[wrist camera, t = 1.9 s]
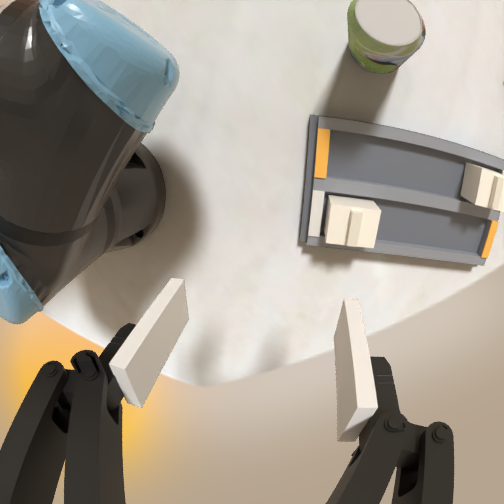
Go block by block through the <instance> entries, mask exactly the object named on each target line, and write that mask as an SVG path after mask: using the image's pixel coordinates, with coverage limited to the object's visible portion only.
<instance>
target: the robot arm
mask: <svg viewBox="0 0 504 504" xmlns="http://www.w3.org/2000/svg"><path fill="white" fill-rule="evenodd" d="M178 80H179V67H178V64H177V62H176V60H175V58H174V57H173V56H172V54H171V53H170V52H169V51H168V50H167V49H166V48H165V47H163V46H162V45H161V44H160V43H159V42H158V41H157V40H155V39H154V38H153V37H152V36H150V35H149V34H148V33H147V32H145V31H144V30H143V29H141V28H140V27H139V26H137V25H136V24H135V23H133V22H132V21H131V20H129V19H128V18H126V17H125V16H123V15H122V14H120V13H119V12H117V11H116V10H114V9H113V8H111V7H109V6H108V5H106V4H105V3H103V2H101V1H99V0H9V1H8V2H6V3H5V4H3V5H2V6H0V316H1V317H2V318H3V319H5V320H7V321H8V322H10V323H13V324H21V323H24V322H25V321H27V320H28V319H29V318H30V317H31V316H32V315H34V314H35V313H36V312H38V311H39V312H40V311H42V310H43V306H44V305H45V304H46V303H47V302H48V301H49V300H51V299H52V298H53V297H54V296H55V295H56V294H57V293H58V292H59V291H60V290H61V289H63V288H64V287H65V286H66V285H67V284H68V283H69V282H70V281H72V280H73V279H74V278H75V277H76V276H77V275H78V274H80V273H81V272H82V271H83V270H84V269H85V268H87V267H88V266H89V265H90V264H91V263H93V262H94V261H95V260H96V259H97V258H98V257H100V256H101V255H102V254H104V253H107V252H111V251H115V250H119V249H124V248H128V247H131V246H133V245H135V244H137V243H139V242H141V241H142V240H143V239H144V238H145V237H147V236H148V235H149V234H150V233H151V232H152V231H153V230H154V229H155V228H156V226H157V225H158V223H159V221H160V219H161V217H162V214H163V211H164V206H165V184H164V179H163V175H162V172H161V170H160V167H159V165H158V163H157V161H156V159H155V158H154V156H153V155H152V154H151V152H150V151H149V150H148V149H147V148H146V147H145V146H144V145H143V144H142V143H141V141H142V140H143V138H144V137H145V135H146V134H147V133H150V132H151V130H152V129H153V127H154V125H155V120H156V118H157V116H158V115H159V113H160V111H161V110H162V108H163V106H164V105H165V103H166V102H167V100H168V99H169V97H170V96H171V94H172V93H173V91H174V90H175V88H176V86H177V84H178ZM188 320H189V315H188V307H187V299H186V290H185V281H184V279H177V278H171V279H170V280H169V282H168V283H167V284H166V286H165V287H164V288H163V290H162V291H161V292H160V294H159V295H158V296H157V298H156V299H155V300H154V302H153V303H152V304H151V306H150V307H149V308H148V310H147V311H146V312H145V314H144V315H143V317H142V318H141V319H140V321H139V322H138V323H137V325H135V324H131V323H128V324H126V325H125V326H123V327H122V328H120V330H119V331H118V332H117V333H116V335H115V337H113V339H112V340H111V343H109V344H108V345H107V347H106V348H105V349H104V351H103V352H102V354H101V355H100V356H99V357H98V356H97V354H96V353H95V352H93V351H91V350H83V351H80V352H78V353H76V354H75V355H74V356H73V357H72V359H71V361H70V362H71V364H72V366H73V367H74V369H75V370H67V369H64V367H63V365H62V364H61V363H60V362H58V361H50V362H47V363H46V364H44V365H43V366H42V368H41V369H40V371H39V373H38V374H37V376H36V378H35V380H34V381H33V383H32V385H31V387H30V389H29V391H28V392H27V395H26V396H25V398H24V400H23V402H22V404H21V406H20V408H19V410H18V412H17V414H16V416H15V418H14V420H13V422H12V425H11V427H10V429H9V431H8V433H7V436H6V438H5V441H4V443H3V445H2V448H1V450H0V504H52V502H53V498H54V495H55V491H56V488H57V484H58V480H59V477H60V474H61V471H62V468H63V464H64V461H65V460H66V461H65V478H64V504H126V503H125V493H124V479H123V459H122V404H121V400H122V398H123V397H125V399H126V401H127V403H129V404H132V405H134V406H138V407H140V408H142V407H143V405H144V403H145V401H146V399H147V397H148V395H149V393H150V391H151V389H152V387H153V386H154V384H155V382H156V380H157V378H158V376H159V374H160V372H161V370H162V368H163V367H164V365H165V363H166V361H167V359H168V357H169V355H170V353H171V351H172V350H173V348H174V346H175V344H176V342H177V340H178V338H179V336H180V335H181V333H182V331H183V329H184V327H185V325H186V324H187V322H188ZM334 348H335V365H336V386H337V441H344V442H345V441H346V442H349V441H350V442H352V441H356V439H357V438H358V436H359V446H358V448H357V449H356V450H355V451H354V452H353V454H352V456H353V457H352V459H351V461H350V462H349V464H348V466H347V468H346V470H345V472H344V474H343V476H342V478H341V479H340V481H339V483H338V484H337V486H336V488H335V490H334V491H333V493H332V495H331V496H330V498H329V499H328V501H327V503H326V504H379V503H380V501H381V499H382V497H383V495H384V493H385V490H386V488H387V486H388V483H389V481H390V479H391V476H392V474H393V471H394V469H395V467H397V471H396V479H395V486H394V493H393V498H392V504H452V503H453V489H454V442H453V433H452V430H451V428H450V427H449V426H448V425H446V424H445V423H443V422H434V423H432V424H431V425H429V426H428V427H424V426H419V425H415V424H412V423H410V422H408V421H407V419H406V418H405V417H404V415H402V414H401V413H400V410H399V405H398V400H397V395H396V390H395V385H394V381H393V376H392V371H391V366H390V364H389V363H388V362H387V360H386V359H385V357H370V354H369V348H368V343H367V338H366V333H365V328H364V323H363V318H362V314H361V309H360V305H359V300H358V299H349V298H344V301H343V305H342V309H341V313H340V316H339V320H338V324H337V328H336V331H335V335H334ZM65 458H66V459H65Z"/></svg>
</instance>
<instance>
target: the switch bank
mask: <svg viewBox="0 0 504 504" xmlns="http://www.w3.org/2000/svg"><path fill="white" fill-rule="evenodd" d="M466 162H468V163H471V164H474V165H477V166H480V167H484V168H487V169H490V170H492V171H495V172H498V173H500V174H502V175H504V160H503V159H500V158H498V157H495V156H493V155H490V154H487V153H484V152H481V151H479V150H476V149H473V148H470V147H467V146H463V145H460V144H457V143H454V142H450V141H447V140H443V139H440V138H436V137H432V136H429V135H425V134H421V133H417V132H412V131H408V130H404V129H399V128H394V127H389V126H384V125H379V124H374V123H368V122H362V121H355V120H349V119H342V118H334V117H326V116H317V115H310V125H309V141H308V155H307V168H306V180H305V192H304V203H303V213H302V223H301V233H300V242H307V245H311V246H320V247H330V248H339V249H348V250H357V251H366V252H374V253H383V254H392V255H400V256H409V257H417V258H426V259H434V260H442V261H450V262H458V263H466V264H474V265H482V266H484V264H485V261H486V258H488V255H489V252H490V249H491V246H492V243H493V240H494V236H495V233H496V229H497V226H498V219H499V215H500V211H498V210H494V209H490V208H486V207H482V206H478V205H475V204H473V203H472V202H470V201H469V200H467V199H465V198H464V197H462V196H461V195H460V194H461V189H462V183H463V178H464V172H465V166H466ZM328 195H336V196H344V197H352V198H360V199H367V200H373V201H374V202H375V203H376V205H377V206H378V207H379V208H380V210H381V215H380V220H379V225H378V230H377V235H376V240H375V245H374V248H365V247H352V246H347V245H339V244H330V243H326V241H325V234H324V225H325V217H326V209H327V201H328Z"/></svg>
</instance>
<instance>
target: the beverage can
mask: <svg viewBox="0 0 504 504" xmlns="http://www.w3.org/2000/svg"><path fill="white" fill-rule="evenodd" d="M347 19H348V40H349V50H350V52H351V55H352V56H353V58H354V59H355V61H356V62H357V63H358V64H359V65H360V66H362V67H363V68H365V69H367V70H369V71H372V72H375V73H389V72H392V71H394V70H396V69H397V68H399V67H400V66H401V65H402V64H403V63H404V62H405V61H406V60H407V59H408V58H409V57H411V56H412V55H413V54H414V53H415V52H416V51H417V50H418V49H419V48H420V47H421V45H422V44H423V41H424V39H425V25H424V21H423V19H422V16H421V15H420V13H419V11H418V10H417V8H416V7H415V6H414V5H413V3H412V2H411V1H409V0H353V1H352V2H351V4H350V6H349V8H348V13H347Z"/></svg>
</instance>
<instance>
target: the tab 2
mask: <svg viewBox="0 0 504 504" xmlns="http://www.w3.org/2000/svg"><path fill="white" fill-rule="evenodd" d="M460 195H461V196H462V197H464V198H465V199H467V200H469V201H470V202H472V203H473V204H475V205H478V206H482V207H486V208H490V209H494V210H498V211H501V212H504V175H502V174H500V173H498V172H495V171H492V170H490V169H487V168H484V167H480V166H477V165H474V164H471V163H468V162H466V166H465V172H464V178H463V183H462V189H461V194H460Z"/></svg>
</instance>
